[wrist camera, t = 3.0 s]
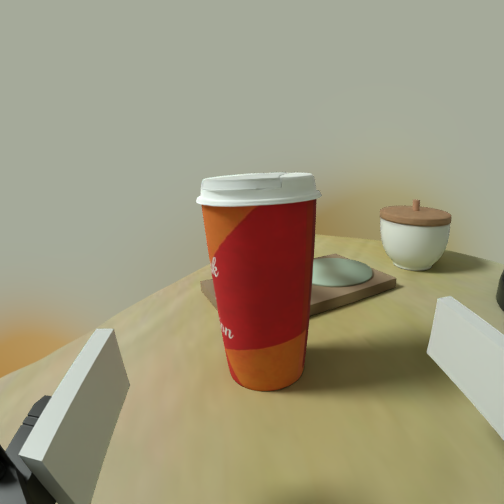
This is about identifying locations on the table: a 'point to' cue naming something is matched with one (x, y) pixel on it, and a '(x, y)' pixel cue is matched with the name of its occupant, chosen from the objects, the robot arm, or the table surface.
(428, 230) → the lidded jar
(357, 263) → the brown flat rectangular board
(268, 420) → the table surface
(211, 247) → the paper cup
